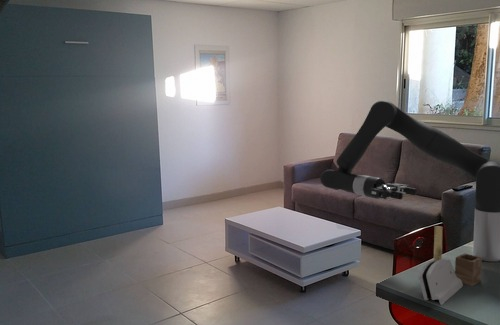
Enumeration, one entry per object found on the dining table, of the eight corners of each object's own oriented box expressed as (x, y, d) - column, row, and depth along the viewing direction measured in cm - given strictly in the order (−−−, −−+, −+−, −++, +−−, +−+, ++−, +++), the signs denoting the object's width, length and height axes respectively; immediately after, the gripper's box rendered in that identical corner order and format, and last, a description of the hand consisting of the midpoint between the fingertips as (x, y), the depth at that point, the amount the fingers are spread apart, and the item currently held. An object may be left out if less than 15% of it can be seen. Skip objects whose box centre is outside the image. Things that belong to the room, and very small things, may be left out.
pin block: (463, 275, 144) (464, 253, 143) (480, 281, 140) (481, 257, 139) (454, 280, 141) (455, 257, 140) (472, 286, 137) (473, 262, 136)
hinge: (441, 305, 126) (430, 269, 127) (425, 305, 129) (414, 271, 130) (463, 285, 138) (453, 253, 138) (448, 286, 141) (438, 254, 142)
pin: (435, 269, 150) (437, 225, 148) (442, 271, 148) (444, 227, 146) (431, 271, 149) (433, 227, 146) (438, 273, 147) (440, 228, 144)
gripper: (356, 179, 160) (397, 186, 147) (380, 173, 169) (421, 180, 156) (356, 199, 161) (396, 209, 149) (379, 193, 170) (420, 201, 158)
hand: (409, 194), depth 153 cm, fingers open, 8 cm apart
